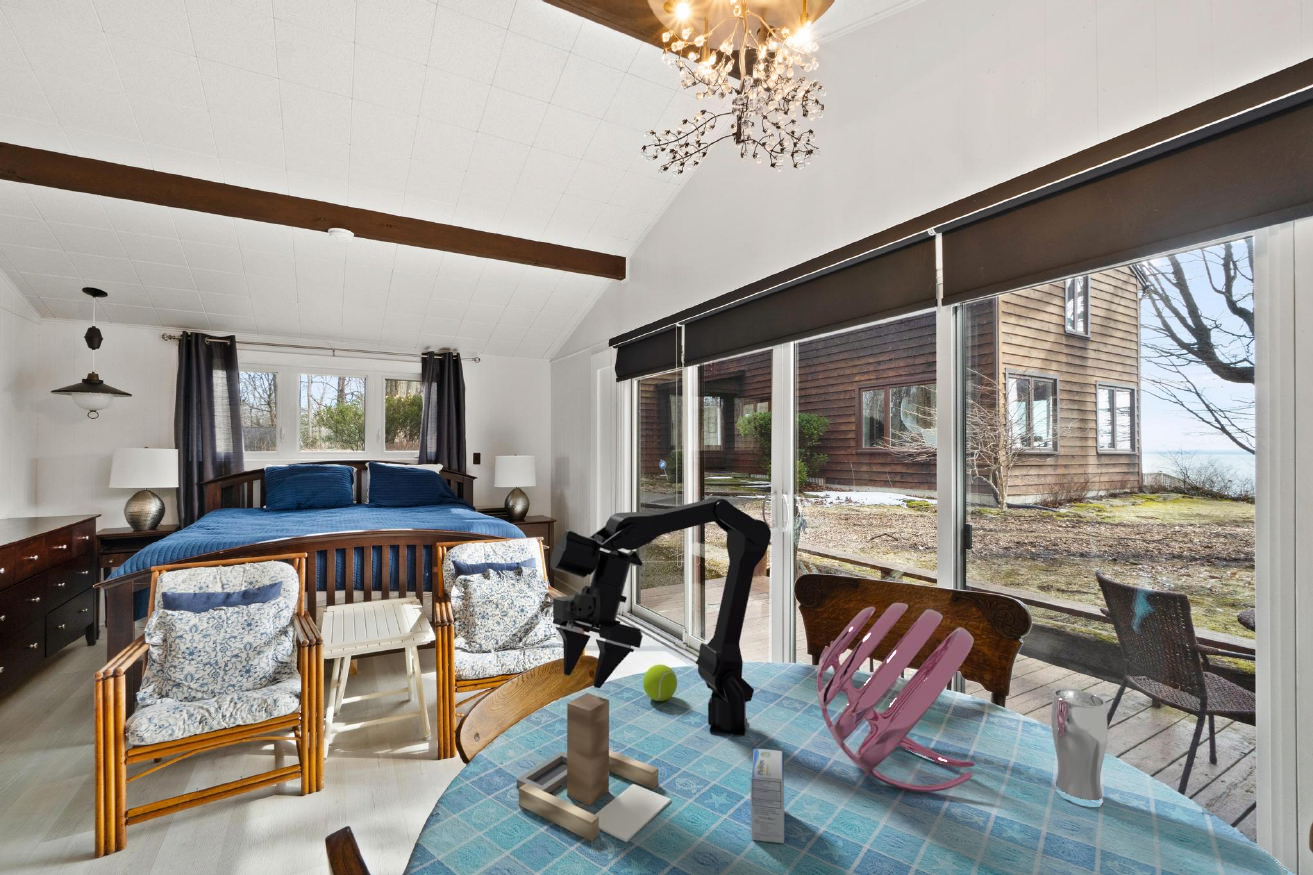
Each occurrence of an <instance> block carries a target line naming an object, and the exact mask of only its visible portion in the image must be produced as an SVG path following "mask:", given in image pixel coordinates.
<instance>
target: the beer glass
mask: <svg viewBox="0 0 1313 875" xmlns="http://www.w3.org/2000/svg"><path fill="white" fill-rule="evenodd" d="M1052 693H1053V696H1052V704H1051V705H1052V706H1051V730H1052V731H1051V732H1052V739H1053V744H1054V749H1055V754H1056V759H1057V774H1056V780H1055V783H1056V786H1057V787H1058V788H1059V789H1060V790H1061V791H1062V792H1065V793H1066V794H1069V795H1071V796H1074V797H1077V798H1080V799H1085V800H1086V799H1087V800H1099V799H1101V798H1102V795H1103V791H1102V787H1101V774H1102V768H1103V764H1104V759H1105V754H1106V749H1107V744H1108V715H1107V714H1108V713H1107V706H1106V705H1107V703H1106V701H1105V700H1104V698H1102V697H1100V696H1098V695H1096V694H1093V693H1092V692H1089V691H1085V690H1080V689H1076V688H1067V687H1066V688H1065V687H1064V688H1056V689H1054V690H1053V691H1052Z"/></svg>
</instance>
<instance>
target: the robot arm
mask: <svg viewBox="0 0 1313 875" xmlns="http://www.w3.org/2000/svg"><path fill="white" fill-rule="evenodd" d="M713 522H714V523H715V524H716V525H717V526H718V528H719V529H721V530H722V531H723V532H725V533H726V545H725V546H726V550H727V556H728V559H729V562H728V568H727V573H726V577H725V578H726V579H725V582H724V586H723V592H722V596H721V601H720V605H719V606H720V607H719V610H718V615H717V618H716V619H717V620H716V624H715V630H714V634H713V636H712V637H711V639H710V640H709V641H708V643H704V642H700V644H699V652H698V657H697V659H696V661H695V664H696V665H697V672H698V675H699V677H700V678H701V679H702V680H703V681H704V682H705V685H706V688H708V689H710V690H711V691H712V692H711V696H710V697H709V700H708V703H707V724H708V726H709V733H711V734H718V735H726V736H727V735H728V736H738V737H746V732H747V724H748V719H747V702H751V701H752V699H753V695H754V692H755V689H754V688H753V687H752V686H751V685H750V684H749V683H748V682H747V681H746V680H745V679H744V678H743V666H744V664H743V663H744V661H743V657H742V651H741V647H740V640H741V636H742V630H743V627H744V621H745V617H746V614H747V613H746V611H747V607H748V603H749V597H750V592H751V588H752V583H753V579H754V574H755V569H756V567H757V566H758V565H759V563H760V562H761V561H762V559H764V557H765V556H766V553H767V550H768V547H769V545H770V543H771V539H772V530H771V529H770V527H769V525H768V523H766V522H765V521H763V520H761V519H758V518H757V519H756V518H754V517H752V516H750V515H749V514H747V513H746V512H744V511H742V510H741V509H739V508H737V507H736V506H734V505H733V504H732V503H730V502H729V501H728V500H727V499H725V498H722V497H716V496H711V497H709V498H706V499H704V500H703V499H702V500H701V501H700V500H699V501H695V502H692V503H687V504H682V505H678V506H674V507H670V508H666V509H661V510H657V511H651V512H649V511H648V512H647V511H646V512H645V511H643V512H641V511H630V512H628V511H627V512H625V511H624V512H617V513H614V514H612V515H610V516H609V518H608V520H607V521H606V524H605V525H604V526H603V527H601V528H599V529H598V530H597V531H595V532H594V533H593V534H591V535H590V536H588V537H587V536H586V535H585V536H584V535H581V534H578V533H577V532H575V531H573V530H570V529H565V530H564V533H563V535H562V536H561V537H560V539H559V540H558V542H557V544H555V545H554V547H553V550H552V553H551V557H550V568H551V570H555V571H559V572H562V573H566V574H568V575H572V576H576V577H579V578H582V579H584V578H586V577H587V576H588V575H589V576H592V577H591V582H590V585H589V586H588V585H584V587H583V588H582V590H581V593H580V594H578V593H576V594H570V595H564V596H555V597H553V598H552V618H553V620H552V624H554V625H558V626H555V630H556V631H558V633H559V635H560V636H561V638H562V646H563V674H564V675H565V676H570V675H572V672H573V671H574V669H575V668H576V666H577V664H578V662H579V660H580V657H581V656H582V653H583V652H584V651H585V648H586V647H587V644H588V643H589V640H590V638H591V636H592V635H589V634H586V633H590V632H593V633H595V634H598V635H599V638H600V639H597V638H596V639H595V642H596V644H597V648H598V650H599V654H598V659H597V663H596V667H595V674H594V678H593V679H594V681H593V687H594V688H597V689H600V688H602V686H603V685H604V684H605V682H606V681H607V680H608V678H610V676H611V675H612V674H613V672H614V671H615V670H616V669H617V668H618V666H619V665H620V664H621V663H622V662H623V661H624V660H625V658H626V657H627V656H628V655H629V654H630V653H634V650H635V649H634V648H633V647H635V648H638V649H640V648H641V645H642V641H643V637H644V636H643V633H642V630H641V629H640V628H637V627H635V626H634V627H633V626H630V625H627V624H622V623H621V621H620V620H616V619H617V616H618V612H619V608H620V604H621V603H623V604H626V602H627V598H628V596H625V595H623V593H624V589H625V586H626V582H627V578H628V575H629V571H630V568H631V566H633V567H642V566H643V564H644V563H643V561H642V559H641V558H640V557H639V554H638V552H637V550H638V549H639V548H641V547H644V546H646V545H649V544H650V543H652V542H653V541H654V540H656V539H658V538H659V537H661V536H663V535H666V534H670V533H673V532H678V531H681V530H685V529H690V528H693V527H697V526H701V525H705V524H709V523H713ZM601 549H603V550H601ZM622 549H623V550H626V551H629V552H625V551H621V550H622ZM604 550H606V551H604ZM607 551H609V552H607ZM592 574H593V575H592ZM584 632H585V633H584ZM601 639H604V640H601Z"/></svg>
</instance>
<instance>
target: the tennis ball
mask: <svg viewBox="0 0 1313 875" xmlns="http://www.w3.org/2000/svg"><path fill="white" fill-rule="evenodd" d="M677 678H678V677H677V675H676V673H675V672H674V670H673V669H672V668H671V667H669V666H667V665H666V664H655V665H653V666H651V667H649V669H648V670H647V671H646V672H645V674H644V676H643V682H642V683H643V684H642V685H643V689H644V692H645V693H646V695H647V696H648V697H649V698H650V699H652V700H653V701H657V702H662V701H663V702H664V701H667V700H669V699H670V698H671V697H672V696H674V694H675V692H676V690H677V687H678V679H677Z"/></svg>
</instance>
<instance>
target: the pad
mask: <svg viewBox="0 0 1313 875" xmlns="http://www.w3.org/2000/svg"><path fill="white" fill-rule="evenodd" d="M671 802H672V799H671V798H670V797H666V796H665V795H662V794H660V793H657V792H654V791H652V790H649V789H647V788H646V787H645V788H644V787H642V786H640V785H637V784H634V783H632V784H631V785H630V786H628V787H627V788H626V789H625V790H624V791H622V792H621V793H620V794H619V795H617V796H616V797H615V798H613V799H612V800H611V801H609V803H607V804H606V805H605V806H603V807H602V808H601V809H599V810H598V811H597V813H595V814H594V815H596V816H598V817H599V831H602V832H604V833H605V834H608V835H611V836H612V837H614V838H616V839H618V840H620V841H623V842H625V843H628V842H629V841H630V840H631V839H632V838H633V837H634V836H635V835H636V834H637V833H638V832H639V831H640V830H642V828H643V827H645V826H646V825H647V824H648V823H649V822H650V821H652V819H653V818H655V817H656V816H657V815H658V814H659V813H660V812H661V811H662V810H664V808H665V807H666V806H668V805H669V804H670V803H671Z"/></svg>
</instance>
